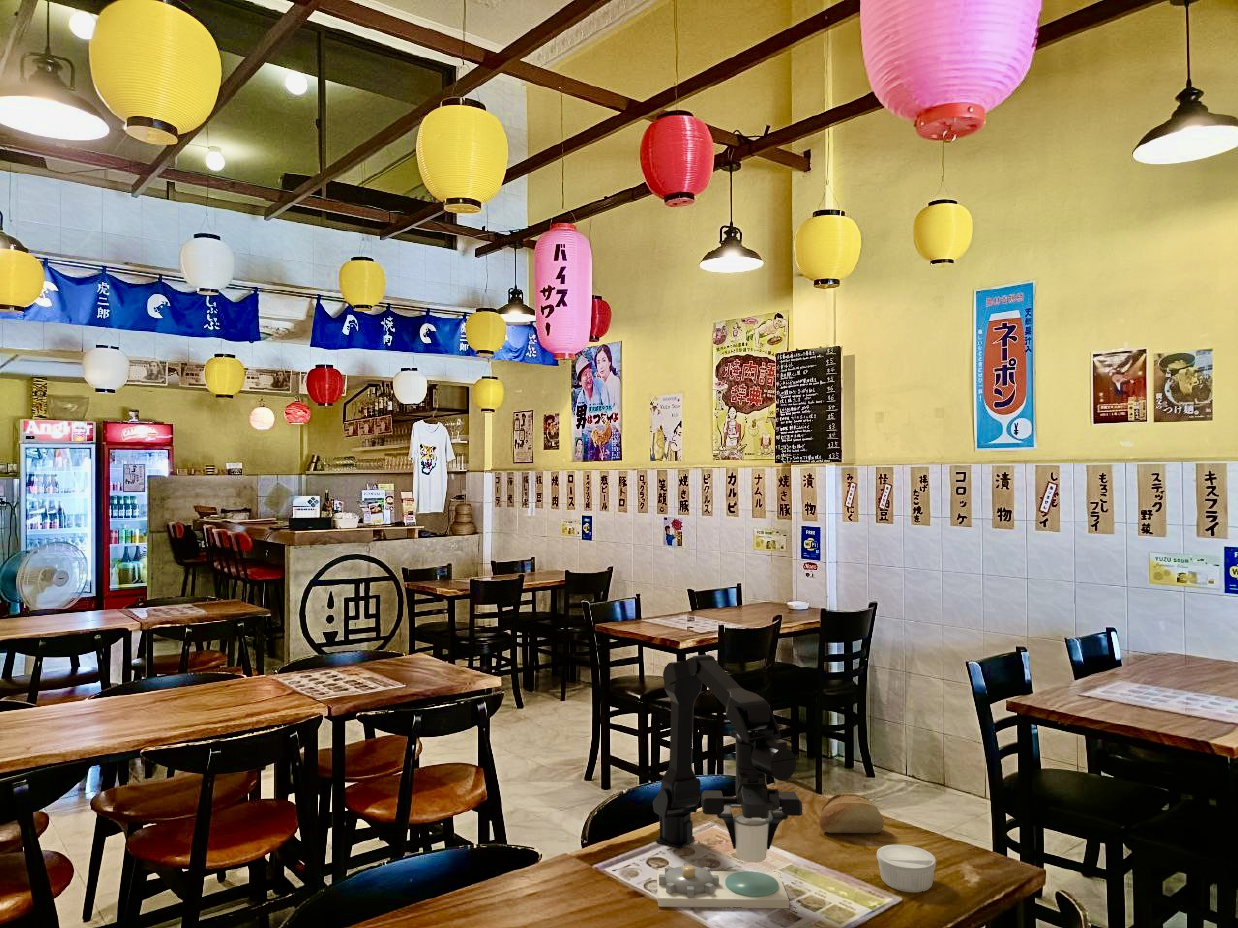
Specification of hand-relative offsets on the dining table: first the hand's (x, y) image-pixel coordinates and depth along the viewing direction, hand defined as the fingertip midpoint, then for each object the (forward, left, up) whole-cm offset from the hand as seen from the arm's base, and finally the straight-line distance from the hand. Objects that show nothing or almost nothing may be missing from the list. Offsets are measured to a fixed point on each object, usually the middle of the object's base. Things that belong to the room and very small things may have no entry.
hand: (751, 848), depth 159 cm
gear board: (-5, -3, -8) cm, 10 cm away
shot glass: (0, 0, -2) cm, 2 cm away
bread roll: (+5, +41, -9) cm, 43 cm away
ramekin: (+23, +22, -9) cm, 33 cm away
